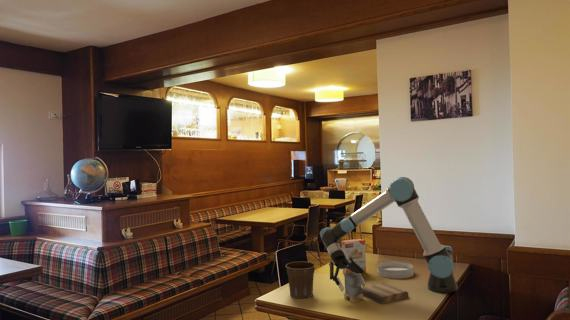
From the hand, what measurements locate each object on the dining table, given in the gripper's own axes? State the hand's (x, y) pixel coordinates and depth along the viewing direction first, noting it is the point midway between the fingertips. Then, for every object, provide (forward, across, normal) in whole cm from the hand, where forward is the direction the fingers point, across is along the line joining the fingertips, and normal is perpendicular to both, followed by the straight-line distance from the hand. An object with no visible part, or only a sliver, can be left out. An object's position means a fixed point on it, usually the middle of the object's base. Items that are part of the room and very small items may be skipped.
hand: (353, 287), depth 204 cm
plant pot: (-11, +19, -20) cm, 30 cm away
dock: (+6, -16, -2) cm, 18 cm away
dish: (-13, -49, -22) cm, 56 cm away
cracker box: (-24, -29, -33) cm, 50 cm away
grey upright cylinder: (+4, 0, -5) cm, 6 cm away
